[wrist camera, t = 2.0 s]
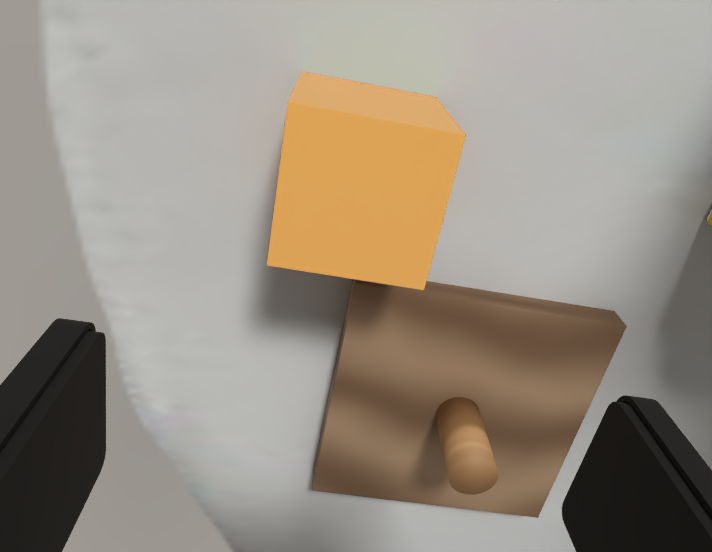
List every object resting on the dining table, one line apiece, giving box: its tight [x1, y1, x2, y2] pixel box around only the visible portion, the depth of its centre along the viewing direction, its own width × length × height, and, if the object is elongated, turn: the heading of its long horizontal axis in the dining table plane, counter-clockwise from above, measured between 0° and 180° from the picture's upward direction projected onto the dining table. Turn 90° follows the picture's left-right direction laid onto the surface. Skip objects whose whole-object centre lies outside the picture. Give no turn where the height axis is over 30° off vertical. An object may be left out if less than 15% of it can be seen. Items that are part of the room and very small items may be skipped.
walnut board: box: [312, 279, 626, 518], centre depth 31 cm, size 14×14×6 cm
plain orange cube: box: [267, 72, 466, 290], centre depth 24 cm, size 6×6×7 cm
